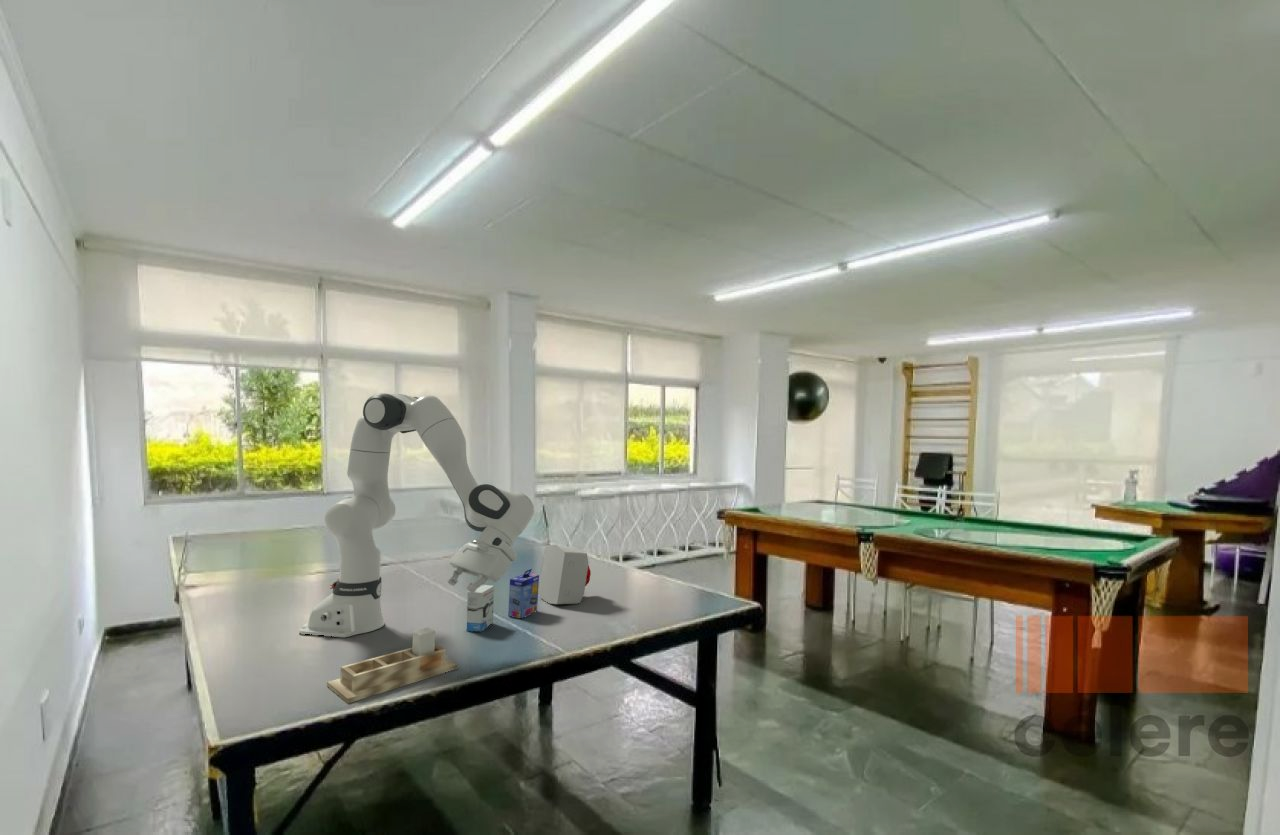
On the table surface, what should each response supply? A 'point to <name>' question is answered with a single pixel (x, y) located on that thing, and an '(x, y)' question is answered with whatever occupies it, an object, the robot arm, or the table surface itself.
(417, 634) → the off-white tall block
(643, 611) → the table surface
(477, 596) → the ink box
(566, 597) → the electrical switch box
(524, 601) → the ink cartridge box
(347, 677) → the rack
